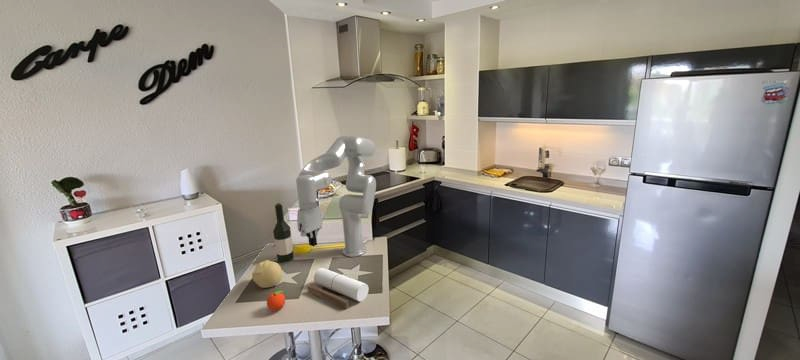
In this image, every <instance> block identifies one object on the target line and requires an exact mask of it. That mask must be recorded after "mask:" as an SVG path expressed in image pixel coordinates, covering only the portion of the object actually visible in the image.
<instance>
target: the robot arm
mask: <svg viewBox="0 0 800 360" xmlns="http://www.w3.org/2000/svg"><path fill="white" fill-rule="evenodd" d="M375 152H376V143H375V142H374V141H373V140H371V139H369V138H366V137H362V136H358V135H341V136H339V137H337V138H336V140H334V141H333V143H332V144H331V146H330V147H329V148H328V150H327V151H326V152H325V153H323V154H321V155H319V156H317V157H316V158H313V159H312V160H310V161H309V162H307V163H306V164H305V165H304V167H303V168H302V169H301V171H300V172H299V174H298V176H297V177H296V182H295V183H296V190H297V199H298V207H299V209H297V217H296V219H297V220H296V223H297V231H298V232H299V233H300V236H301V237H303V238H304V237H307V239H308V245H309V246H311V247H315V246H317V245H318V241H317V237H318V233H319V231H320V230H322V228H323V215H322V211H321V208H320V206H319V204H318V202H320V200H319V198H318V193H317V191H320V190H325V189H326V188H329V186H330V185H331V184H332V176H331V174H330V173H329V172H327V170H332V169H334V168H338V167H339V166H340V165H341V164H342V163H343V162H344V160H346V158H347V161H348V170H347V176H346V181H345V189H346V191H347V192H351V193H359V195H358V194H344V195H342V196H341V197H340V198H339V201H338V204H339V205H338V206H339V210H340V213H341V219H342V228H343V237H344V239H343V240H344V248H342V254H343V256H346V257H348V258H349V257H352V258H353V257H354V258H355V257H359V256H362V255H363V254H365V253H366V252H367V247H366V246H365V245H366V244H367V243H368V242H369V239H368V238H365V239H363V230H362V229H363V227H362V218H361V216H360V215H364V216H365V215H370V213H371V212H372V210H373V207H374V202H375V195H376V191H377V190H376V189H377V181H376V178H375V177H374V176H373V175H370V174H365V169H366V165H365V162H364V160H363V159H362V157H371V156H373V155H374V154H375ZM360 194H362V195H360Z"/></svg>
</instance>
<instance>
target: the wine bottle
mask: <svg viewBox="0 0 800 360" xmlns="http://www.w3.org/2000/svg"><path fill="white" fill-rule="evenodd" d="M274 210H275V216H276V217H275V218H276V224H275V227H274V228H273V232H272V233H273V239H274V244H275V252H276V259H277V262H278V263H281V264H282V263H283V264H284V263H289V262H292V261H293V260H294V258H295V254H294V253H295V252H294V247H293V245H294V244H293V238H292V232H291V231H292V230H291V226H289V224H288V223H287V222H286V221H285V218H284V211H283V205H282V204H281V203H275V205H274Z"/></svg>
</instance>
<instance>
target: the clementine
mask: <svg viewBox="0 0 800 360" xmlns="http://www.w3.org/2000/svg"><path fill="white" fill-rule="evenodd" d="M283 293H284V290H278V291H275V292H272V293H271V294H269V296H268V297H267V299H266V305H267V308H268V309H269V310H271V311H273V312H275V311H279V310H281V309H282V308H283V307H284V306H285V303H286V297H285V295H284V294H283Z"/></svg>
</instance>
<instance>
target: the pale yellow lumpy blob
mask: <svg viewBox="0 0 800 360" xmlns="http://www.w3.org/2000/svg"><path fill="white" fill-rule="evenodd" d="M251 277H252V280H253V282H254V283H255V284H256V285H257V286H258V287H259V288H262V289H263V288H264V289H266V288H271V287H274V286H276V285H277V284H279V283H280V281H281V280H282V277H283V271H282V267H281V265H279V263H277V262H276V261H270V259H269V260H268V259H266V260H264V261H261V262H259V263H258V264H257V265H256V267H255V268H254V270H253V271H252V274H251Z"/></svg>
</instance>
